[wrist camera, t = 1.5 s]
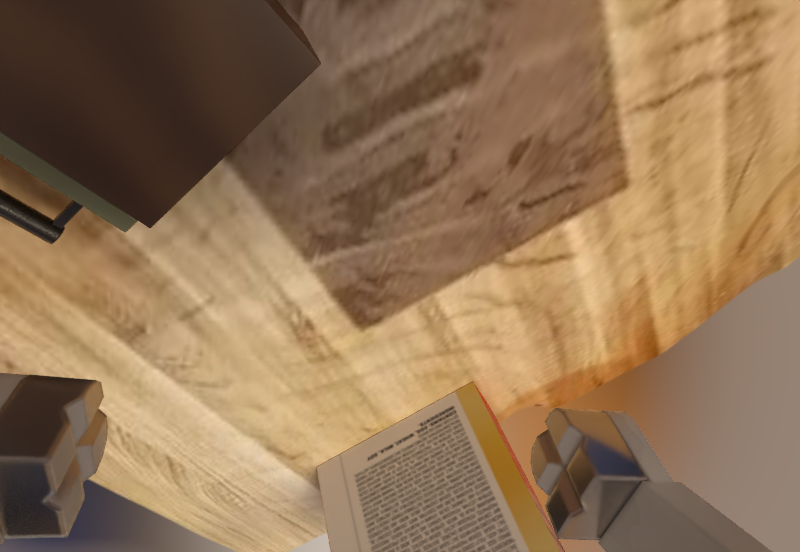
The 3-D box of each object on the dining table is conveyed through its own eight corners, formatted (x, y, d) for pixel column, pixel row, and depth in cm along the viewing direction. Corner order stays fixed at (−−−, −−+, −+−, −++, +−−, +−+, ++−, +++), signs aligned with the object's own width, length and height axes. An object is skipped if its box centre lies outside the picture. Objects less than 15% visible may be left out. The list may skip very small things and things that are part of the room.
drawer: (94, 230, 38) (77, 280, 33) (-85, 122, 31) (-141, 166, 26) (268, 57, 34) (276, 85, 29) (108, -112, 27) (85, -110, 22)
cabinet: (161, 172, 38) (150, 229, 31) (-27, 33, 30) (-91, 72, 24) (303, 31, 35) (321, 63, 28) (134, -164, 27) (109, -177, 21)
